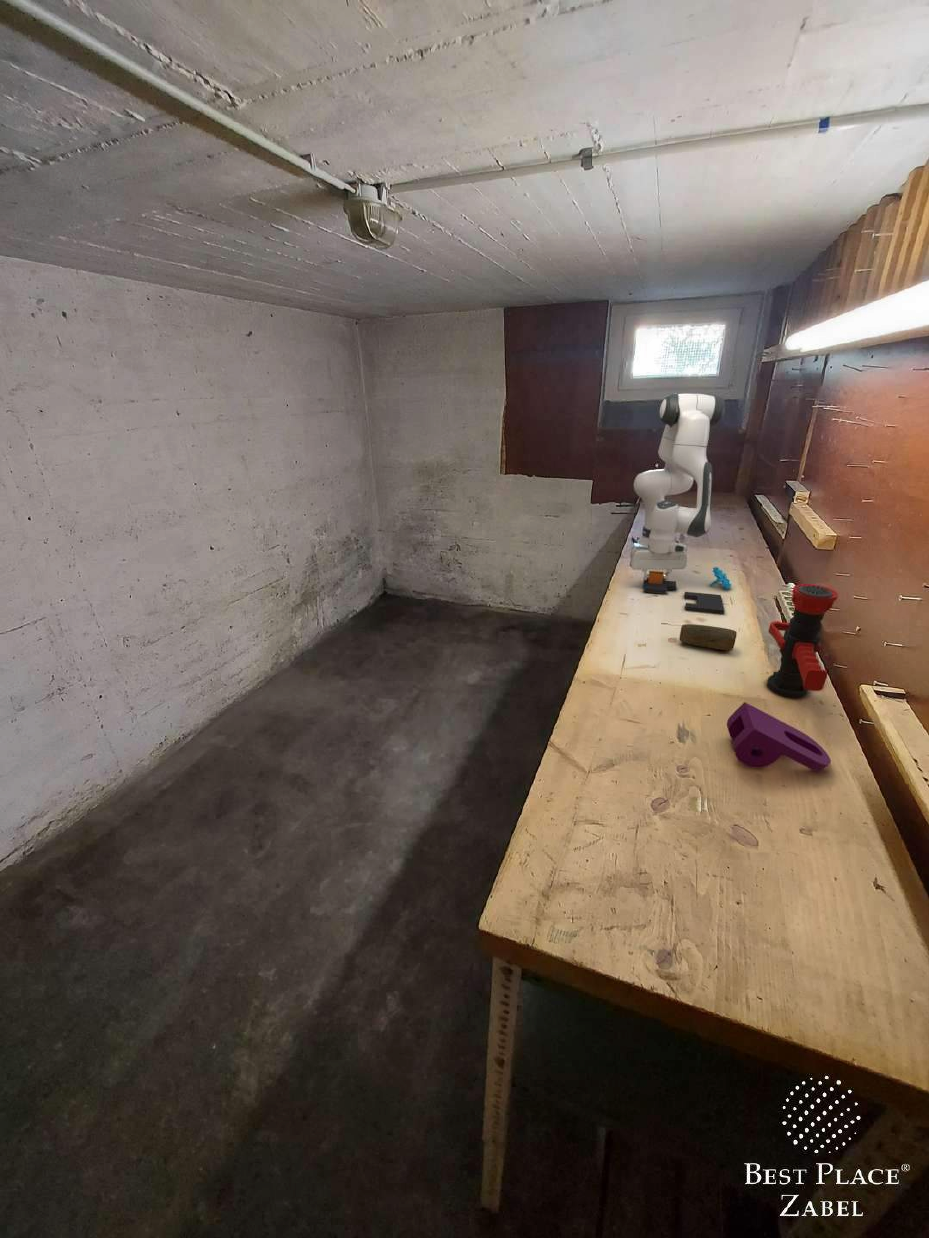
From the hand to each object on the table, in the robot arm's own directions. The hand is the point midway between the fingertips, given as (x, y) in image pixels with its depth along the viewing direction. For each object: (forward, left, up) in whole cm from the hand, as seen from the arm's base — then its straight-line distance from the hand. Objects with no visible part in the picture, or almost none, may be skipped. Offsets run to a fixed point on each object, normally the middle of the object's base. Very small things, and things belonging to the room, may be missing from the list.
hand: (655, 579), depth 186 cm
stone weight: (+44, +16, -4) cm, 47 cm away
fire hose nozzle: (+64, +34, -4) cm, 73 cm away
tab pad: (0, +2, -3) cm, 3 cm away
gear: (-7, +24, -4) cm, 25 cm away
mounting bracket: (+91, +27, -4) cm, 95 cm away
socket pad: (+12, +17, -3) cm, 21 cm away
